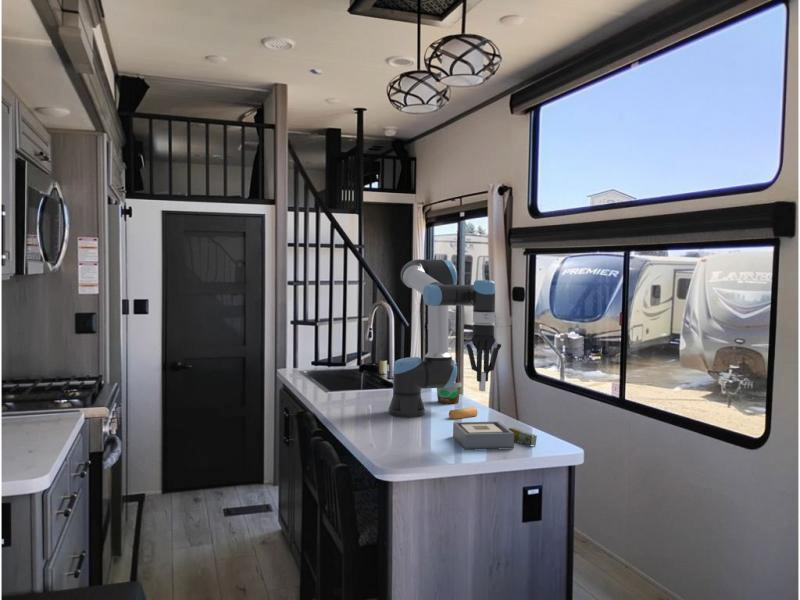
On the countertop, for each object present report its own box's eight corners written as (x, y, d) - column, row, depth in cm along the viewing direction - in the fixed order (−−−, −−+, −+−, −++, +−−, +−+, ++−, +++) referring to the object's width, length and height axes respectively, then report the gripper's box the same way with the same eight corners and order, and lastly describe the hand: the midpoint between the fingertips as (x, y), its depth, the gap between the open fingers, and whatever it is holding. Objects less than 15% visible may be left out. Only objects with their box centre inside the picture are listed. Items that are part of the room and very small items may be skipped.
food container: (432, 404, 287) (432, 382, 287) (434, 401, 293) (435, 380, 292) (459, 406, 284) (460, 384, 284) (461, 403, 290) (462, 381, 290)
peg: (454, 410, 257) (476, 406, 264) (448, 410, 261) (470, 407, 268) (455, 420, 257) (477, 416, 264) (449, 420, 260) (471, 416, 267)
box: (452, 437, 231) (453, 422, 231) (498, 436, 234) (498, 421, 233) (465, 450, 214) (465, 434, 214) (513, 449, 217) (514, 433, 217)
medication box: (536, 446, 221) (537, 435, 221) (530, 447, 220) (531, 435, 220) (512, 438, 232) (514, 427, 232) (507, 438, 230) (508, 427, 230)
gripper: (468, 324, 219) (467, 393, 220) (504, 324, 221) (503, 392, 222) (462, 323, 227) (461, 389, 228) (498, 323, 229) (496, 388, 230)
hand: (482, 390), depth 225 cm, fingers closed
